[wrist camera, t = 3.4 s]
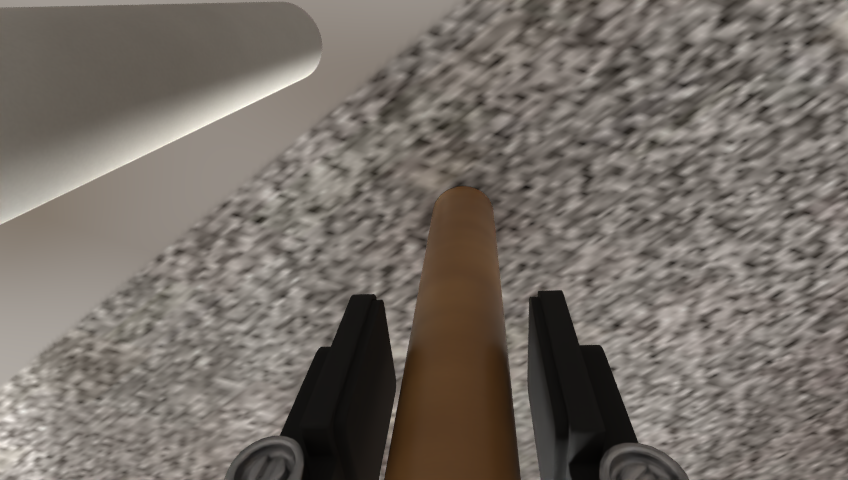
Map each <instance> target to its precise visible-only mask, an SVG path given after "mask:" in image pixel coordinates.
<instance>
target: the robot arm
mask: <svg viewBox="0 0 848 480" xmlns="http://www.w3.org/2000/svg"><path fill="white" fill-rule="evenodd" d="M527 381H528V394H529V401H530V408H531V415H532V422H533V429H534V436H535V443H536V450H537V457H538V464H539V471H540V478H541V480H689V478H688V476H687V474H686V473H685V472H684V470H683V469H682V468H681V467H680V465H679V464H678V463H677V462H676V461H674V460H673V459H672V458H671V457H669V456H668V455H667V454H666V453H664V452H662V451H660V450H658V449H656V448H654V447H652V446H648V445H644V444H640V443H638V441H637V438H636V435H635V433H634V430H633V427H632V425H631V422H630V419H629V417H628V414H627V411H626V409H625V406H624V403H623V401H622V398H621V395H620V393H619V390H618V387H617V384H616V382H615V379H614V376H613V374H612V371H611V368H610V366H609V363H608V360H607V358H606V355H605V352H604V350H603V348H602V347H601V346H600V345H579V343H578V339H577V336H576V333H575V330H574V326H573V323H572V320H571V317H570V313H569V310H568V307H567V304H566V301H565V297H564V294H563V292H562V291H561V290H555V291H538V297H530V299H529V335H528V377H527ZM395 392H396V376H395V369H394V363H393V357H392V351H391V344H390V338H389V332H388V326H387V319H386V313H385V307H384V302H383V300H377V299H376V296H375V295H374V294H360V295H352V296H351V298H350V300H349V303H348V305H347V308H346V310H345V313H344V315H343V318H342V320H341V323H340V325H339V328H338V330H337V333H336V335H335V338H334V340H333V343H332V345H331V347H320V348H319V349H318V351H317V352H316V354H315V356H314V359H313V361H312V363H311V365H310V368H309V370H308V372H307V375H306V377H305V379H304V381H303V384H302V386H301V388H300V391H299V393H298V395H297V397H296V400H295V402H294V404H293V407H292V409H291V411H290V413H289V416H288V418H287V420H286V423H285V425H284V427H283V429H282V432H281V434H280V436H271V437H267V438H263V439H260V440H258V441H256V442H254V443H252V444H251V445H249V446H248V447H247V448H245V449H244V450H243V451H241V452H240V453H239V455H238V456H237V457H236V458H235V459H234V460H233V462H232V463H231V465H230V467H229V469H228V471H227V473H226V476H225V479H224V480H379V476H380V470H381V465H382V460H383V455H384V450H385V444H386V439H387V434H388V429H389V424H390V419H391V413H392V408H393V403H394V398H395Z"/></svg>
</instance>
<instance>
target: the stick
mask: <svg viewBox="0 0 848 480" xmlns="http://www.w3.org/2000/svg"><path fill="white" fill-rule="evenodd" d="M384 480H521V476H520V466H519V457H518V447H517V437H516V427H515V417H514V408H513V398H512V388H511V378H510V368H509V359H508V349H507V339H506V329H505V320H504V310H503V300H502V290H501V280H500V271H499V261H498V251H497V241H496V231H495V222H494V212H493V206H492V204H491V202H490V200H489V199H488V197H487V196H486V195H485V194H484V193H482V192H481V191H479V190H477V189H475V188H472V187H467V186H460V187H454V188H451V189H449V190H447V191H445V192H444V193H443V194H442V195H440V197H439V198H438V199H437V201H436V203H435V205H434V208H433V213H432V219H431V224H430V230H429V235H428V241H427V246H426V252H425V257H424V263H423V268H422V274H421V280H420V285H419V291H418V296H417V302H416V307H415V313H414V318H413V324H412V329H411V335H410V340H409V346H408V351H407V357H406V362H405V368H404V373H403V379H402V384H401V390H400V395H399V401H398V406H397V412H396V417H395V423H394V428H393V434H392V439H391V445H390V450H389V456H388V461H387V467H386V472H385V478H384Z"/></svg>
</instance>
